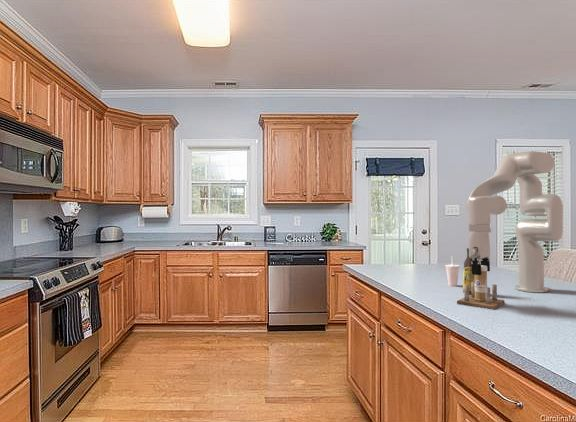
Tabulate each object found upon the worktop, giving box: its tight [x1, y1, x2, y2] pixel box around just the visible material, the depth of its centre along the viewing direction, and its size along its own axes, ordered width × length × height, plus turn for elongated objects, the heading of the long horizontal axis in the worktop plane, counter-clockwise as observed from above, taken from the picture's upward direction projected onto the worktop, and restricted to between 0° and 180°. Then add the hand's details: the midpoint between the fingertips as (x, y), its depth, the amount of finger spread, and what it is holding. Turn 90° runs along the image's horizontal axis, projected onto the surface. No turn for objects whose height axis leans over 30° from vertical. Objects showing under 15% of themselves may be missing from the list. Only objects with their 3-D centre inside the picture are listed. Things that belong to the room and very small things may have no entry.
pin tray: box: [456, 282, 506, 311], centre depth 147 cm, size 13×13×7 cm
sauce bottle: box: [462, 247, 475, 296], centre depth 164 cm, size 6×6×20 cm
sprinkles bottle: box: [475, 265, 488, 301], centre depth 147 cm, size 5×5×14 cm
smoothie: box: [444, 255, 461, 287], centre depth 183 cm, size 6×6×14 cm
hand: (481, 272), depth 147 cm, fingers open, 9 cm apart
